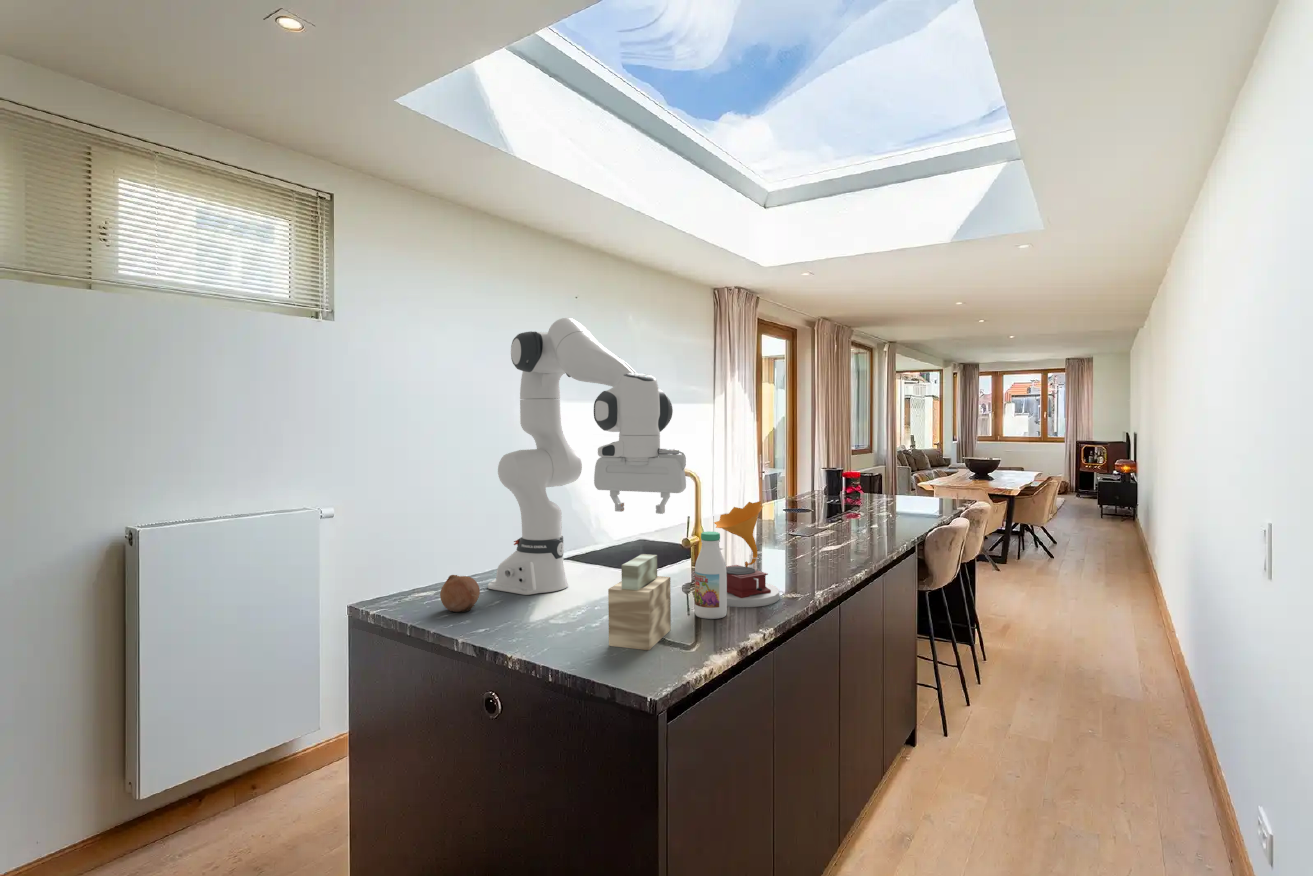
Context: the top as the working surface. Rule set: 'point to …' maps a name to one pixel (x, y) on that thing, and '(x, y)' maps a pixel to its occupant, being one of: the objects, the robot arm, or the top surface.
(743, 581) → the gramophone
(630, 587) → the rail end
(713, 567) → the milk bottle
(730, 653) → the top surface
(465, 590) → the onion
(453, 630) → the top surface
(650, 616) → the wooden square frame
